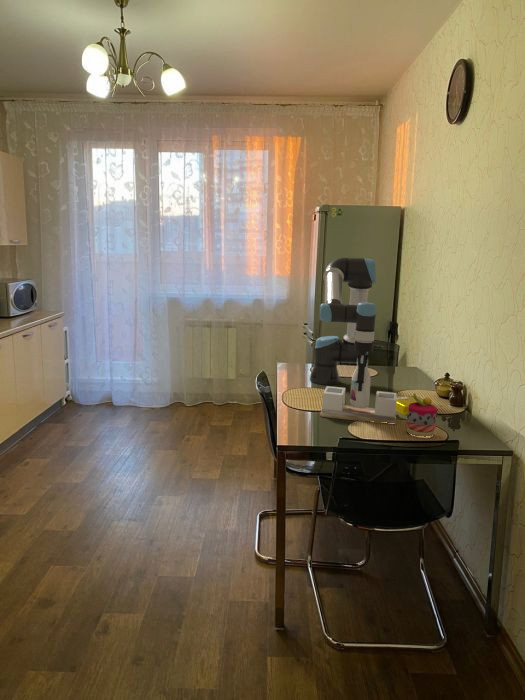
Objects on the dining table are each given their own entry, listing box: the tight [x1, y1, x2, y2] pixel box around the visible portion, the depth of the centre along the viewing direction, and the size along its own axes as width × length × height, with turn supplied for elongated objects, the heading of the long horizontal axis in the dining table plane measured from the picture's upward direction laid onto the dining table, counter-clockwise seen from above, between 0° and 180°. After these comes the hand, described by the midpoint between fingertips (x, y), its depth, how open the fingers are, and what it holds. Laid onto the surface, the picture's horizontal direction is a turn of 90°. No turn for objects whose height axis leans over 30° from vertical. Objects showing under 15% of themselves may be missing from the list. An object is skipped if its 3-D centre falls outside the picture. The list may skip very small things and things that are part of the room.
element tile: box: [396, 395, 435, 416], centre depth 230 cm, size 15×15×5 cm
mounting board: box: [319, 404, 397, 424], centre depth 219 cm, size 15×30×3 cm, turn 76°
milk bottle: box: [349, 358, 372, 408], centre depth 216 cm, size 8×8×20 cm
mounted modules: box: [321, 385, 397, 417], centre depth 218 cm, size 12×29×8 cm, turn 76°
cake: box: [405, 393, 438, 437], centre depth 198 cm, size 10×11×15 cm
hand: (359, 395), depth 217 cm, fingers closed on milk bottle, 8 cm apart
